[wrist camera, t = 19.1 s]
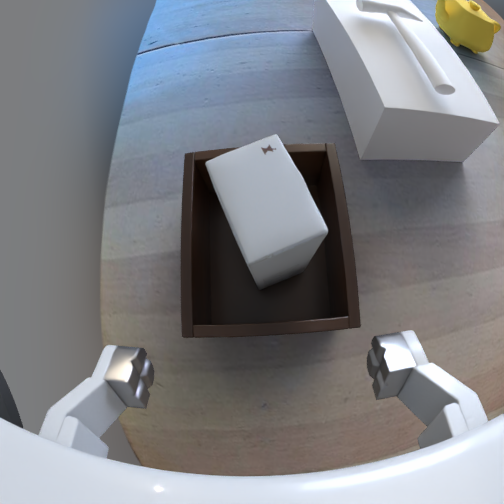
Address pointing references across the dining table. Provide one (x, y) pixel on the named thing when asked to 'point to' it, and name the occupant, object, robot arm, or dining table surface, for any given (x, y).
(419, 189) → the dining table surface
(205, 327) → the holder
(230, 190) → the cosmetic box
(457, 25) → the teapot
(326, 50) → the hammer relief block
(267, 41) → the dining table surface
